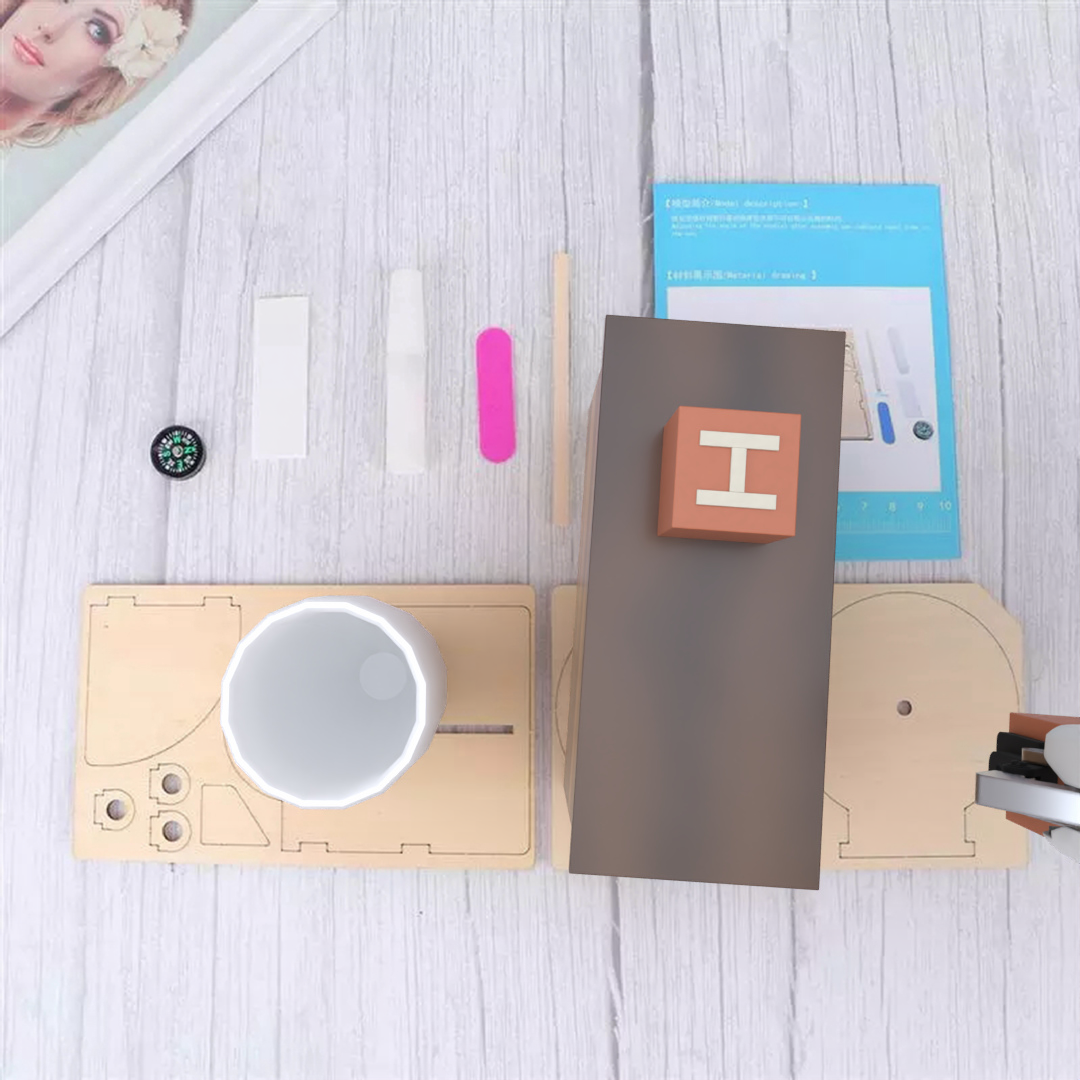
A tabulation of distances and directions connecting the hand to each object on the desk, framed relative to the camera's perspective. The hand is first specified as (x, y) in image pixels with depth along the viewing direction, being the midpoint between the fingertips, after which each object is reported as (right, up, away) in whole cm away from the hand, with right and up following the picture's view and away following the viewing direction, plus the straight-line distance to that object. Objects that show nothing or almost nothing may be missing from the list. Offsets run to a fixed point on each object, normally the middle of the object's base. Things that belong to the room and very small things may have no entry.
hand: (1065, 770), depth 45 cm
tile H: (-17, +13, -2) cm, 21 cm away
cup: (-35, +2, +20) cm, 40 cm away
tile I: (0, 0, 0) cm, 0 cm away
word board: (-17, +8, -1) cm, 19 cm away
